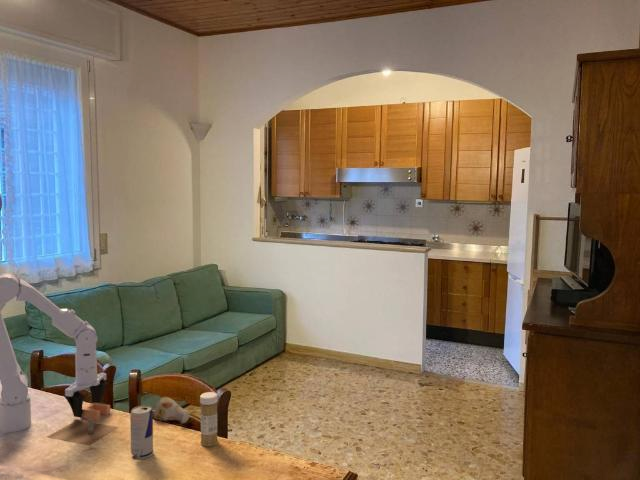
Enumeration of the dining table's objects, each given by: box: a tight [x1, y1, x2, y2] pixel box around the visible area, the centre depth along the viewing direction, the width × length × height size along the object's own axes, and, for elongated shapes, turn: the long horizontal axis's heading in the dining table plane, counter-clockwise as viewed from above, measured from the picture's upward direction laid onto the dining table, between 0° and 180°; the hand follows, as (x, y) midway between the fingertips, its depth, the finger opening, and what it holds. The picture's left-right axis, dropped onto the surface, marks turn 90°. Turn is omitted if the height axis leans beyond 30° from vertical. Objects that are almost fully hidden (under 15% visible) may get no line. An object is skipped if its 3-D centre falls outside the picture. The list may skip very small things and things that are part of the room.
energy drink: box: [129, 405, 154, 461], centre depth 129 cm, size 5×5×12 cm
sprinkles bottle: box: [199, 391, 219, 447], centre depth 136 cm, size 5×5×14 cm
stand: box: [46, 418, 119, 446], centre depth 138 cm, size 14×11×6 cm
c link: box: [79, 402, 111, 421], centre depth 149 cm, size 6×5×4 cm
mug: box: [153, 396, 191, 425], centre depth 149 cm, size 8×10×10 cm
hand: (87, 411), depth 150 cm, fingers open, 7 cm apart
